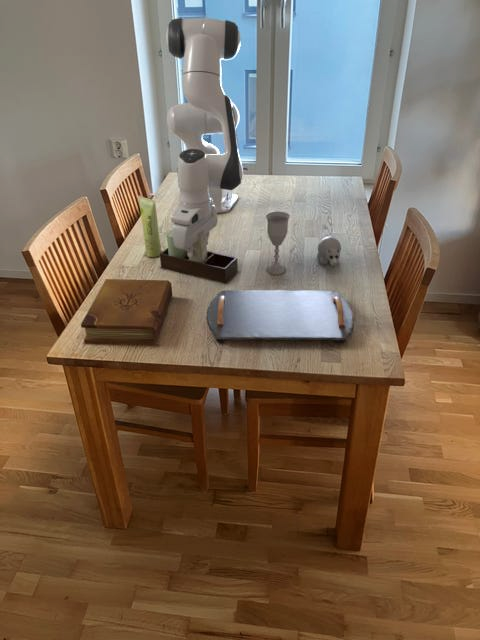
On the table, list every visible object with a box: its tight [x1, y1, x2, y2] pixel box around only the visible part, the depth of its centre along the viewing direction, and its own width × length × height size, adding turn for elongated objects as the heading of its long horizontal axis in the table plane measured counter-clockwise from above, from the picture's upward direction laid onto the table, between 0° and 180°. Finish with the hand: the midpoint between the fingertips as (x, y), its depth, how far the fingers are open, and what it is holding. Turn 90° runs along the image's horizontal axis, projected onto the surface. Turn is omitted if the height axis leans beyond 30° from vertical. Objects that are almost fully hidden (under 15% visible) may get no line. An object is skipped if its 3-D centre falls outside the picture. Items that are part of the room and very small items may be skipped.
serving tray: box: [205, 289, 355, 345], centre depth 138 cm, size 39×23×6 cm, turn 89°
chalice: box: [265, 211, 291, 275], centre depth 158 cm, size 7×7×18 cm
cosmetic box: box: [189, 230, 208, 263], centre depth 160 cm, size 6×4×12 cm
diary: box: [80, 278, 173, 346], centre depth 140 cm, size 23×19×6 cm
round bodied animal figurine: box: [316, 236, 342, 268], centre depth 163 cm, size 7×12×8 cm, turn 3°
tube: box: [138, 195, 162, 258], centre depth 167 cm, size 6×5×20 cm
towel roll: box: [166, 229, 186, 258], centre depth 163 cm, size 6×6×11 cm
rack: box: [159, 247, 238, 285], centre depth 162 cm, size 8×23×5 cm, turn 64°
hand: (197, 250), depth 160 cm, fingers closed on cosmetic box, 6 cm apart
